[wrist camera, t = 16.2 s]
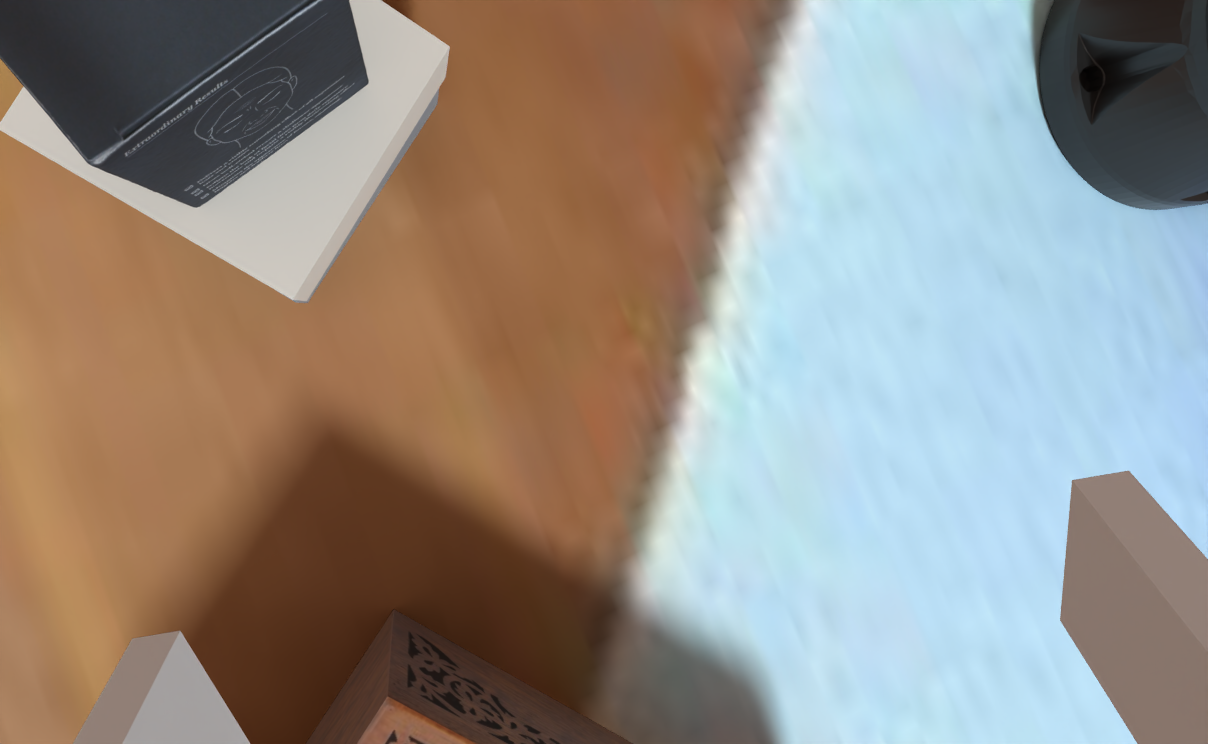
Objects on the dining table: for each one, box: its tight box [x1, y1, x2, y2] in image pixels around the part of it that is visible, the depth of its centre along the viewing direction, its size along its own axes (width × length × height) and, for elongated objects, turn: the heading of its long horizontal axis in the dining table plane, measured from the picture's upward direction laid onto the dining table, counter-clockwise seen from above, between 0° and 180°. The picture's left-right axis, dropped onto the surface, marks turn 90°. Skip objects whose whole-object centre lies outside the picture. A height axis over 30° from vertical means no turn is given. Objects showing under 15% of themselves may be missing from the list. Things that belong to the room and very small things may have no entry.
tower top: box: [0, 0, 450, 301], centre depth 34 cm, size 11×11×4 cm
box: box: [0, 0, 369, 208], centre depth 26 cm, size 8×6×11 cm
